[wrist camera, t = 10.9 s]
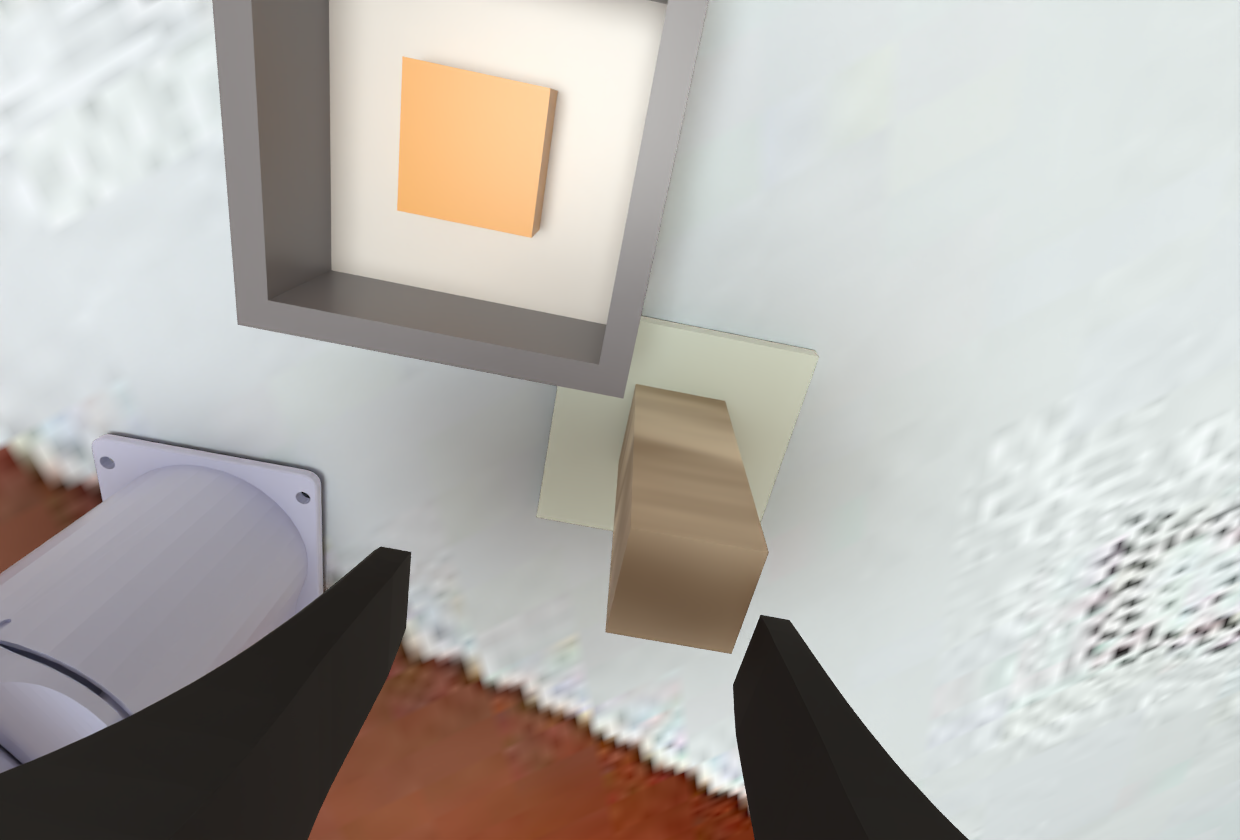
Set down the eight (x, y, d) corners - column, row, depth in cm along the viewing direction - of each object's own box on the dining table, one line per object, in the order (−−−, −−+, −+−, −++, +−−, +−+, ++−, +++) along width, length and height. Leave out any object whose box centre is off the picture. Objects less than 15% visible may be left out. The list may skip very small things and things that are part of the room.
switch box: (627, 343, 20) (623, 398, 16) (320, 283, 20) (237, 324, 16) (703, -19, 16) (722, -66, 12) (314, -107, 16) (197, -188, 12)
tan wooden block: (702, 477, 22) (731, 654, 15) (618, 462, 22) (605, 632, 14) (725, 401, 20) (768, 552, 13) (635, 383, 20) (630, 527, 13)
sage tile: (746, 546, 24) (748, 555, 23) (538, 508, 23) (536, 517, 23) (814, 350, 20) (819, 356, 20) (572, 302, 20) (570, 307, 19)
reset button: (539, 229, 18) (531, 237, 17) (414, 204, 18) (397, 210, 16) (557, 91, 16) (550, 88, 15) (421, 61, 16) (402, 56, 15)
